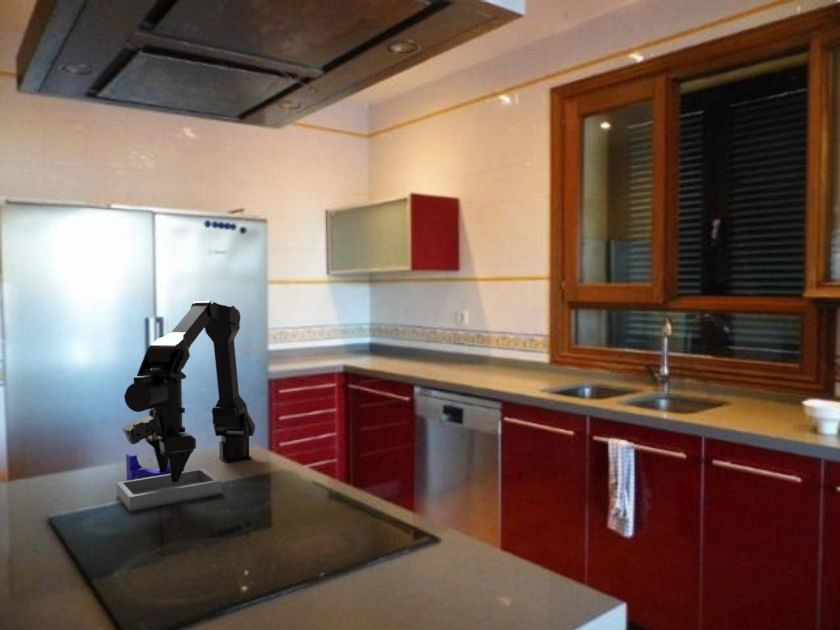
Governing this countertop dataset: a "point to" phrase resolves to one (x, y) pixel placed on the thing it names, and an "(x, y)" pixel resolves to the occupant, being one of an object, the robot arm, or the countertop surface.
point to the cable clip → (141, 469)
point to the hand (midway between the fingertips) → (168, 476)
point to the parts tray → (167, 489)
